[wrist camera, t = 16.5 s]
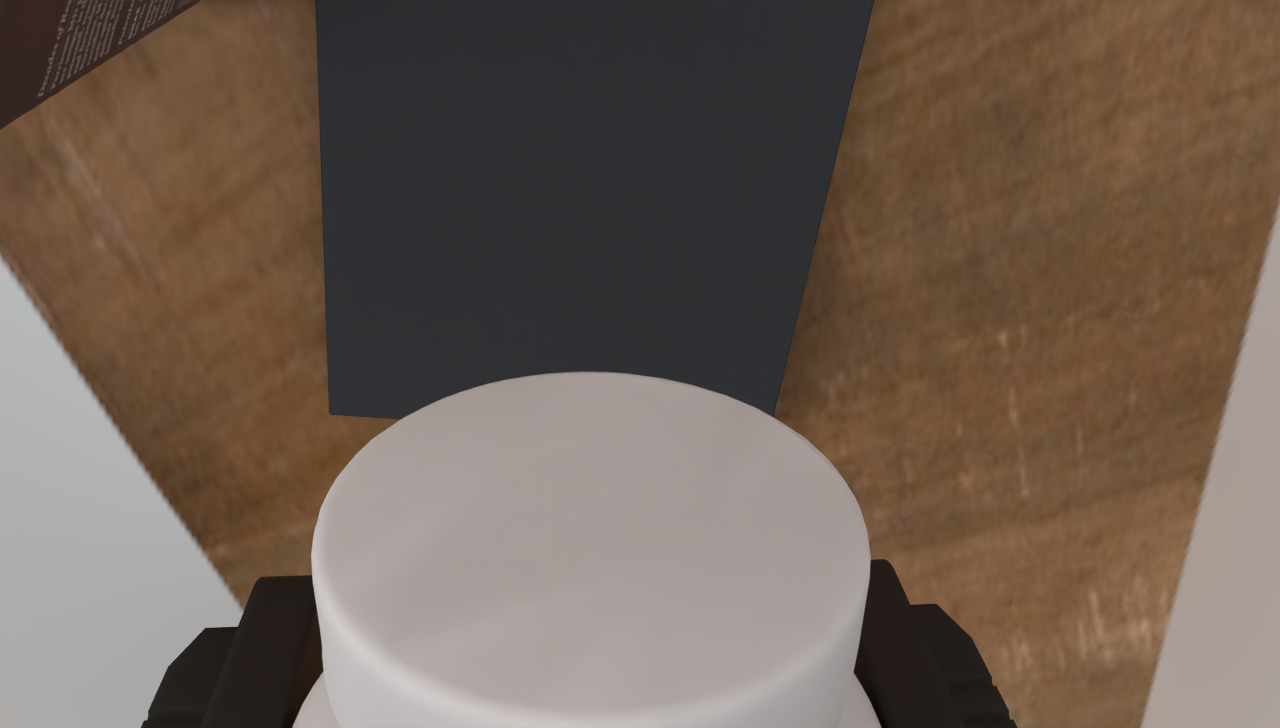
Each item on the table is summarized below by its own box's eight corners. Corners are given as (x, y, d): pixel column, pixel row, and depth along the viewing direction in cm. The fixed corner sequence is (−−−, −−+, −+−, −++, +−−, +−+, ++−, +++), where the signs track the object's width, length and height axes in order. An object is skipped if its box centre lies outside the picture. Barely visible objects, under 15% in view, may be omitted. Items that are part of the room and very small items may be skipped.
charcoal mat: (864, -9, 25) (876, -3, 24) (761, 427, 32) (767, 444, 31) (321, -83, 23) (312, -79, 22) (335, 398, 30) (328, 415, 29)
